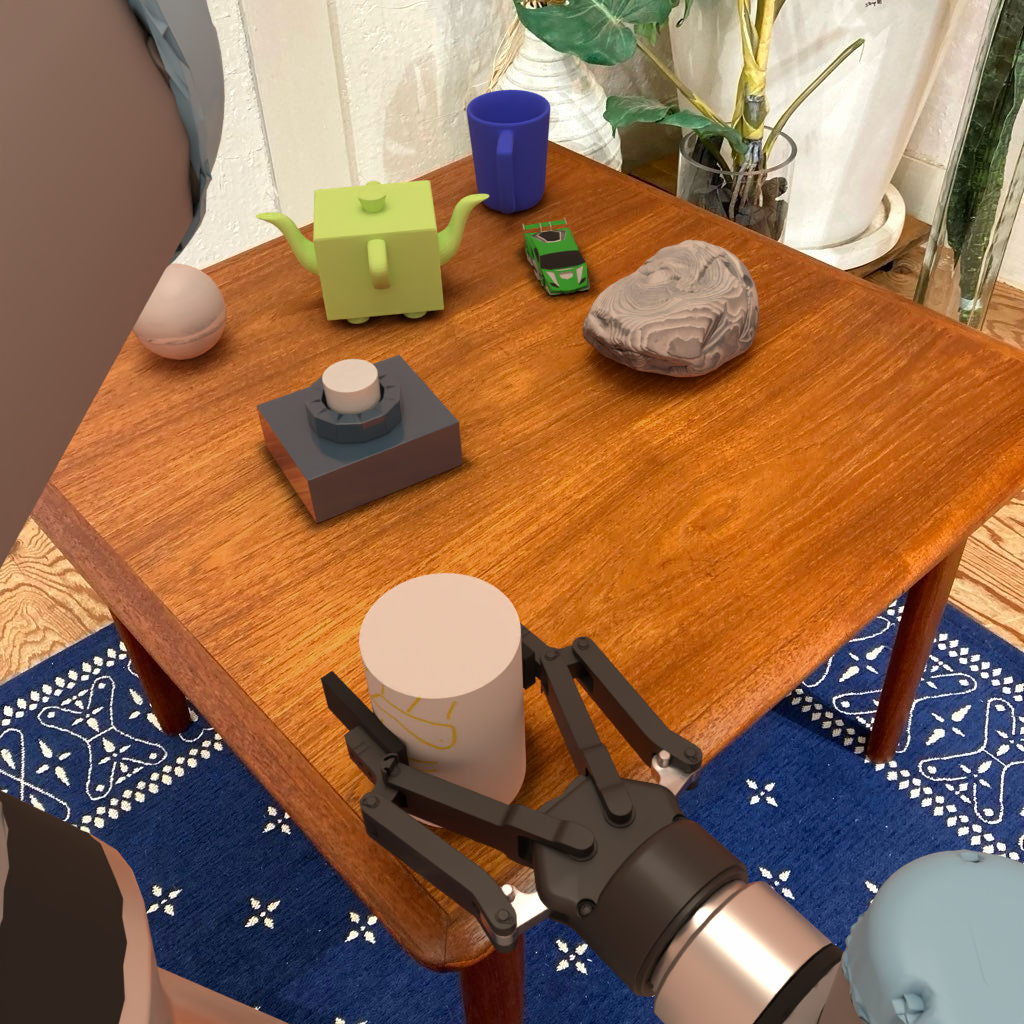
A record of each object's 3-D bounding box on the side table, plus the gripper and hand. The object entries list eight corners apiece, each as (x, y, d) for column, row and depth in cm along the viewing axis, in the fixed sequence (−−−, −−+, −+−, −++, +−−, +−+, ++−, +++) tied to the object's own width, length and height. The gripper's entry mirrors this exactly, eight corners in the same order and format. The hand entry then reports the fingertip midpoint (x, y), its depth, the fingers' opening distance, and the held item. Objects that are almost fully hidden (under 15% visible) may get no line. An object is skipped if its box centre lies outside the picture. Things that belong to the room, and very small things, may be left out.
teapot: (274, 309, 97) (250, 202, 90) (368, 245, 105) (353, 141, 98) (405, 361, 91) (392, 249, 84) (495, 288, 99) (490, 180, 92)
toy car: (595, 291, 98) (595, 269, 96) (545, 299, 97) (545, 277, 96) (567, 237, 105) (567, 216, 103) (520, 244, 104) (519, 223, 103)
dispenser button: (339, 422, 77) (335, 398, 75) (317, 393, 79) (313, 369, 78) (390, 403, 78) (387, 379, 76) (367, 375, 80) (363, 352, 79)
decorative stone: (584, 371, 84) (606, 242, 80) (568, 332, 96) (586, 218, 93) (764, 394, 85) (794, 268, 81) (725, 352, 98) (749, 241, 94)
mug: (465, 239, 105) (459, 143, 99) (475, 182, 114) (469, 89, 107) (548, 239, 105) (548, 142, 98) (551, 181, 114) (551, 88, 107)
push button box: (316, 523, 77) (303, 461, 73) (266, 447, 83) (251, 386, 79) (462, 464, 81) (457, 402, 77) (404, 396, 88) (396, 335, 83)
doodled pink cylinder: (359, 754, 63) (329, 622, 55) (472, 685, 66) (460, 550, 58) (437, 855, 58) (416, 727, 50) (554, 775, 62) (553, 642, 53)
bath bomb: (126, 349, 94) (99, 269, 88) (207, 314, 97) (186, 235, 92) (168, 390, 89) (142, 309, 84) (252, 352, 93) (232, 271, 87)
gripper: (529, 1141, 45) (248, 793, 58) (830, 837, 55) (533, 595, 68) (525, 1078, 40) (217, 711, 53) (858, 755, 50) (531, 509, 63)
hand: (395, 646), depth 60 cm, fingers closed on doodled pink cylinder, 8 cm apart
